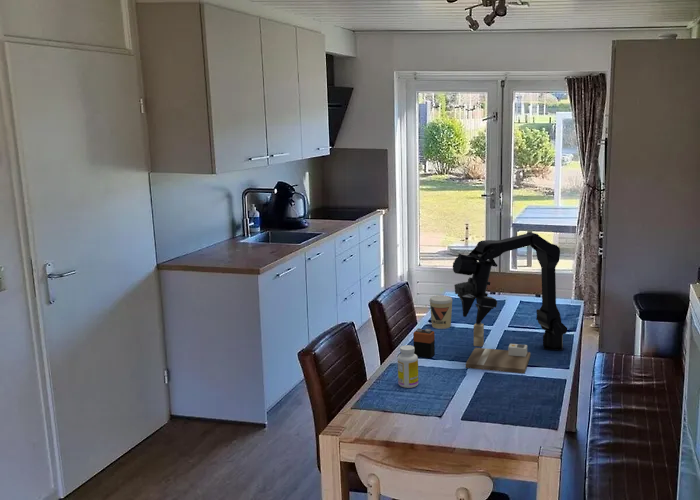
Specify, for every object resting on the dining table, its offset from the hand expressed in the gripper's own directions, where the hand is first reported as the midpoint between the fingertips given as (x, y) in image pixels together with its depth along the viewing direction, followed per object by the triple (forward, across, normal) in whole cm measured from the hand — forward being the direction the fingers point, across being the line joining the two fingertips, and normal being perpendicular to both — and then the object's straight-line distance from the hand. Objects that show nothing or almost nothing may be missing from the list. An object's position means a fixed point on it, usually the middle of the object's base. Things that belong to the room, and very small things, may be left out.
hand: (470, 320), depth 246 cm
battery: (+18, -13, -8) cm, 24 cm away
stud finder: (+9, +4, +19) cm, 22 cm away
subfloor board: (+13, +4, +12) cm, 18 cm away
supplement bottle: (+22, +9, -24) cm, 34 cm away
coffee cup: (+13, -41, +13) cm, 45 cm away
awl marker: (+12, -14, +15) cm, 24 cm away
